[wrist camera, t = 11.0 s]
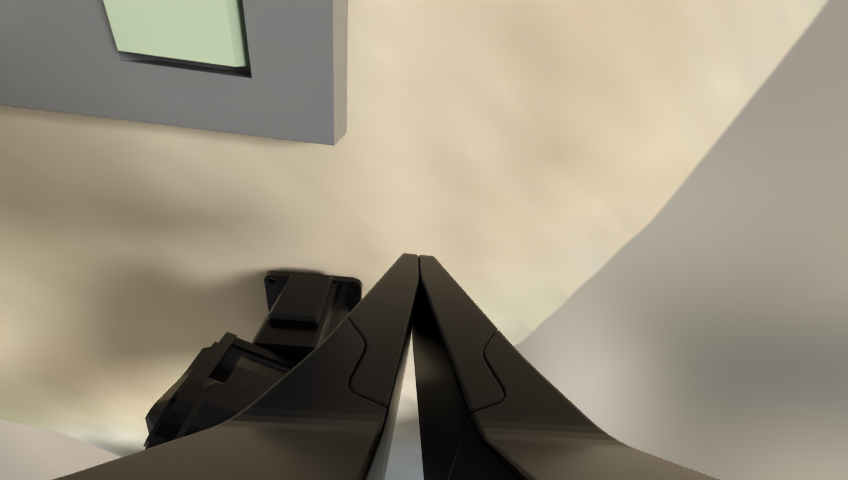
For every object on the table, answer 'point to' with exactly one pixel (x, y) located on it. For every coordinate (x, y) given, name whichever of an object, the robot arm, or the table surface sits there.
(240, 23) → the sage button
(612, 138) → the table surface
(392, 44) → the table surface
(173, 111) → the control panel
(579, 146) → the table surface
